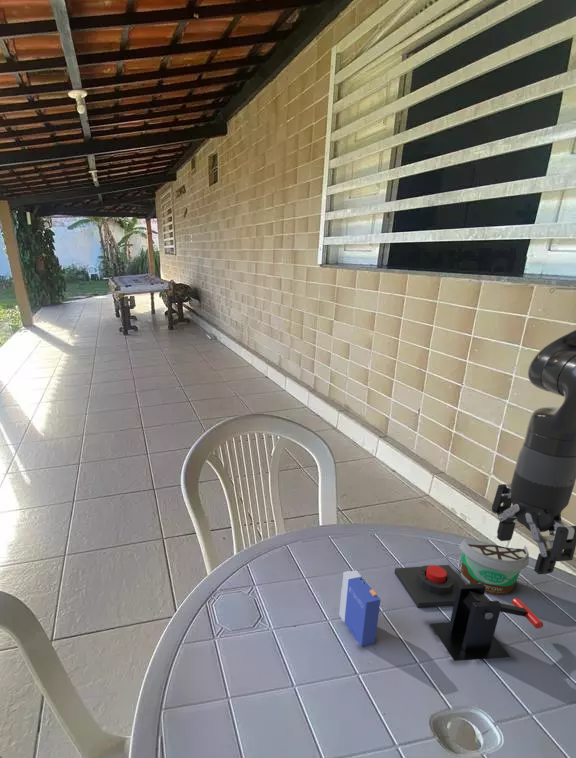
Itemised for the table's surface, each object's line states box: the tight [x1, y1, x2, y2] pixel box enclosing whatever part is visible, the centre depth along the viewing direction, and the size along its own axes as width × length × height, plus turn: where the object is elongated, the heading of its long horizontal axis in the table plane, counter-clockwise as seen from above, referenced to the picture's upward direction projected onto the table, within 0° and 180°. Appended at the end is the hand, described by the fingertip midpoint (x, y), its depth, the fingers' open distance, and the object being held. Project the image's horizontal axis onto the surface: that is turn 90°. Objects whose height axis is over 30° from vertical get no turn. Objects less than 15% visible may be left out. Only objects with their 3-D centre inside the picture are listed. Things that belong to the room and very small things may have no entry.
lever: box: [463, 591, 544, 629], centre depth 74 cm, size 12×6×2 cm, turn 91°
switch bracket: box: [428, 583, 512, 662], centre depth 75 cm, size 10×8×12 cm
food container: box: [458, 539, 530, 596], centre depth 87 cm, size 12×6×10 cm, turn 76°
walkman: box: [338, 569, 381, 648], centre depth 79 cm, size 8×3×12 cm, turn 11°
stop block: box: [393, 564, 467, 609], centre depth 89 cm, size 12×10×4 cm
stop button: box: [426, 564, 447, 584], centre depth 88 cm, size 4×4×2 cm
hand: (521, 555), depth 73 cm, fingers open, 8 cm apart
